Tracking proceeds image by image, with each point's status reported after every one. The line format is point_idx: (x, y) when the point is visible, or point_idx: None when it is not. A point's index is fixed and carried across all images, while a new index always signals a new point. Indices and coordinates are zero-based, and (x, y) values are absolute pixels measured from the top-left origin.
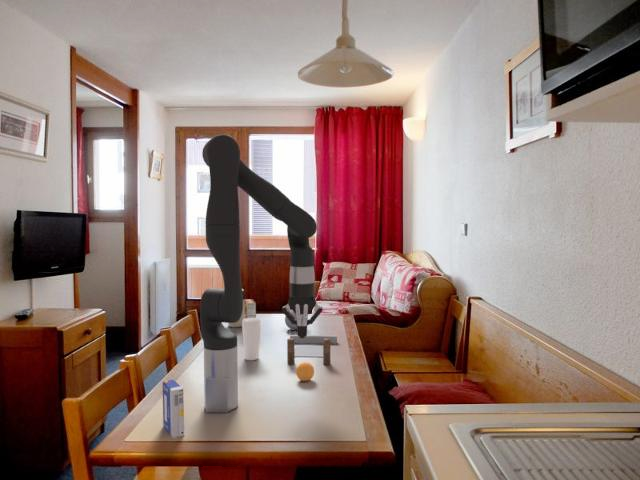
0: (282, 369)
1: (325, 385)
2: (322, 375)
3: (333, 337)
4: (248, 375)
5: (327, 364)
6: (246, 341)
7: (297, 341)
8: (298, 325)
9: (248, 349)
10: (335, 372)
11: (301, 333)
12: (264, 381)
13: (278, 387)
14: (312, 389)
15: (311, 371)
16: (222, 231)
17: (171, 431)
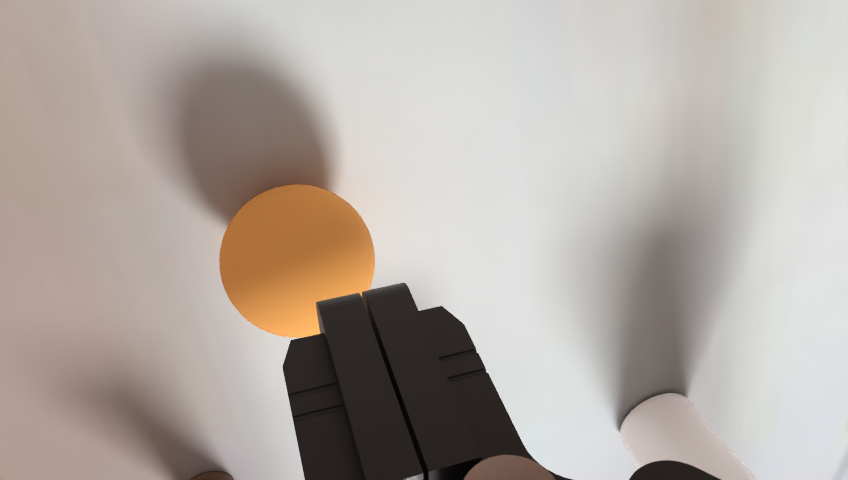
0: (475, 342)
1: (90, 165)
2: (182, 329)
3: None
4: (671, 210)
5: (200, 478)
6: (747, 477)
7: None
8: (516, 468)
9: (706, 439)
10: (101, 397)
11: (392, 348)
12: (572, 141)
13: (465, 53)
14: (177, 62)
15: (235, 244)
16: None
17: None
